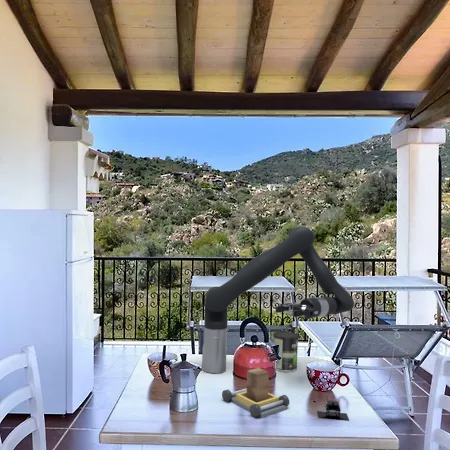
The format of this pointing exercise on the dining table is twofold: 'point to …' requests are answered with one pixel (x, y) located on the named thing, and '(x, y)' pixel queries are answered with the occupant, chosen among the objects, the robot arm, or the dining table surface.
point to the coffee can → (286, 350)
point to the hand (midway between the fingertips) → (284, 311)
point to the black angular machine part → (332, 415)
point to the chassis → (259, 408)
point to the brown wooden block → (257, 384)
